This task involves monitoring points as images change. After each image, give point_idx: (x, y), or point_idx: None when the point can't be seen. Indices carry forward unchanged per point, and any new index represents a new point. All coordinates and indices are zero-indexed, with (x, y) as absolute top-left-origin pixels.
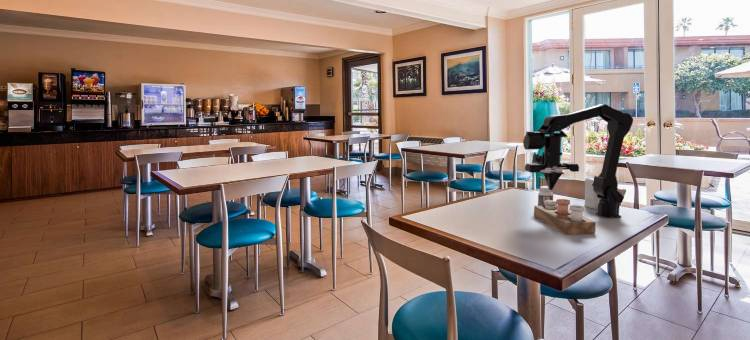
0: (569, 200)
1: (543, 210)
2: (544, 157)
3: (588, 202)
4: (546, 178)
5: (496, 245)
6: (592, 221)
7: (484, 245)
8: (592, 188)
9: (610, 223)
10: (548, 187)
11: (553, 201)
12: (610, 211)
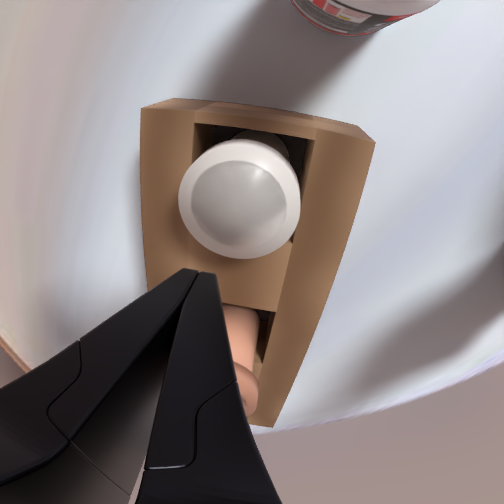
0: (250, 411)
1: (147, 254)
2: None
3: None
4: (52, 400)
5: (19, 349)
6: (266, 423)
7: (3, 340)
8: None
9: (441, 332)
10: (164, 285)
11: (265, 216)
12: None
